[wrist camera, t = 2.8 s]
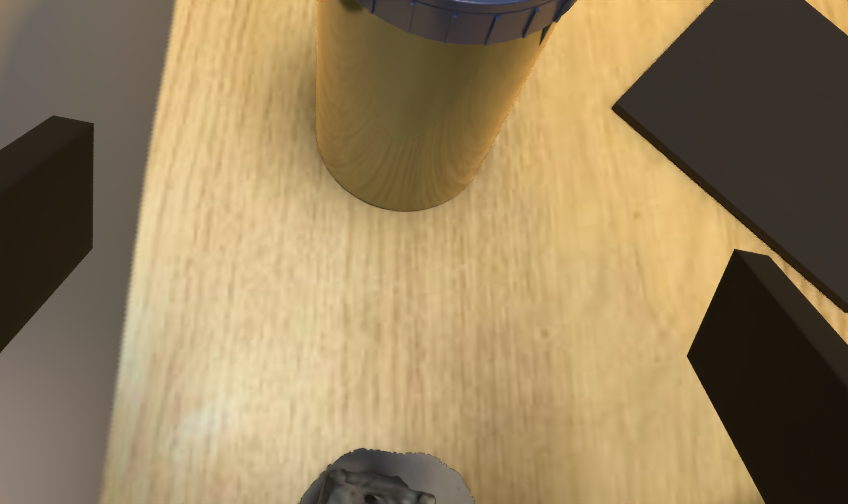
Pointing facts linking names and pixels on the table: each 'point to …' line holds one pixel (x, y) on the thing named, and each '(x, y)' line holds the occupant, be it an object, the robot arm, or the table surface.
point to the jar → (410, 105)
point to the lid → (469, 18)
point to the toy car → (388, 480)
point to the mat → (760, 125)
